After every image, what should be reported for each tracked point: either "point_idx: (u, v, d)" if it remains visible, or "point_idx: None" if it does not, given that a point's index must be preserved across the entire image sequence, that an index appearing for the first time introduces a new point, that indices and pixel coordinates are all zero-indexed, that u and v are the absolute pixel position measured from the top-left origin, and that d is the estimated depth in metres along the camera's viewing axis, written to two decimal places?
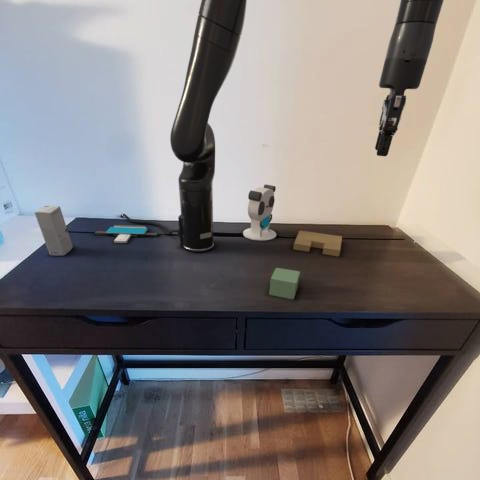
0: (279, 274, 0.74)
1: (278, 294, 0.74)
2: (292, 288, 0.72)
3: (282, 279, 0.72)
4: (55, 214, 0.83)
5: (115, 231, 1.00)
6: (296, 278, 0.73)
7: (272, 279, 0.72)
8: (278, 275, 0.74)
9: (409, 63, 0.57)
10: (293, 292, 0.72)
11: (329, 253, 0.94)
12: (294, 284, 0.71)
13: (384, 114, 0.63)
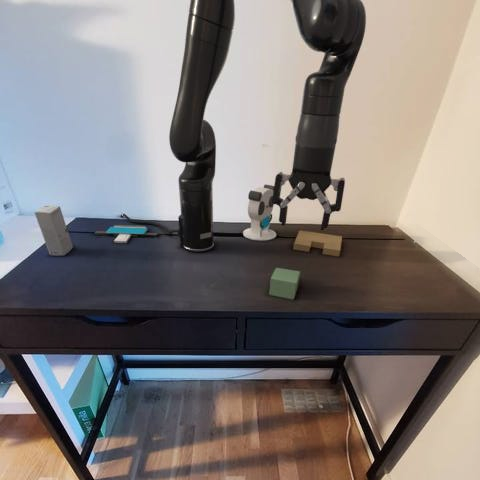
0: (279, 274, 0.74)
1: (278, 294, 0.74)
2: (292, 288, 0.72)
3: (282, 279, 0.72)
4: (55, 214, 0.83)
5: (115, 231, 1.00)
6: (296, 278, 0.73)
7: (272, 279, 0.72)
8: (278, 275, 0.74)
9: None
10: (293, 292, 0.72)
11: (329, 253, 0.94)
12: (294, 284, 0.71)
13: None
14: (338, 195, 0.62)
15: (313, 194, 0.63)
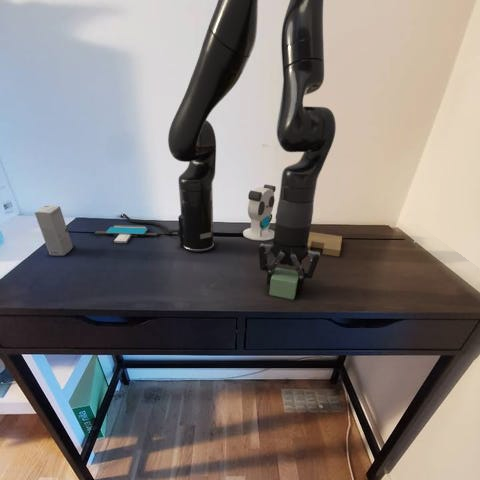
0: (279, 274, 0.74)
1: (278, 294, 0.74)
2: (292, 288, 0.72)
3: (282, 279, 0.72)
4: (55, 214, 0.83)
5: (115, 231, 1.00)
6: (296, 278, 0.73)
7: (272, 279, 0.72)
8: (278, 275, 0.74)
9: (275, 223, 0.67)
10: (293, 292, 0.72)
11: (329, 253, 0.94)
12: (294, 284, 0.71)
13: None
14: (312, 266, 0.69)
15: (292, 261, 0.70)
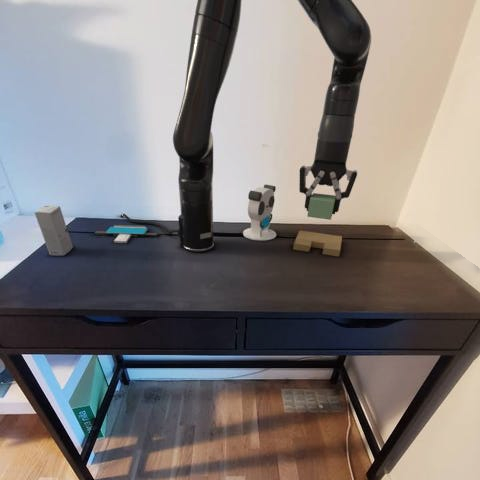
0: (317, 196, 0.80)
1: (316, 215, 0.80)
2: (330, 207, 0.77)
3: (321, 199, 0.78)
4: (55, 214, 0.83)
5: (115, 231, 1.00)
6: (333, 199, 0.78)
7: (311, 199, 0.78)
8: (316, 197, 0.79)
9: None
10: (330, 212, 0.78)
11: (329, 253, 0.94)
12: (332, 203, 0.77)
13: None
14: (349, 184, 0.75)
15: (331, 181, 0.76)
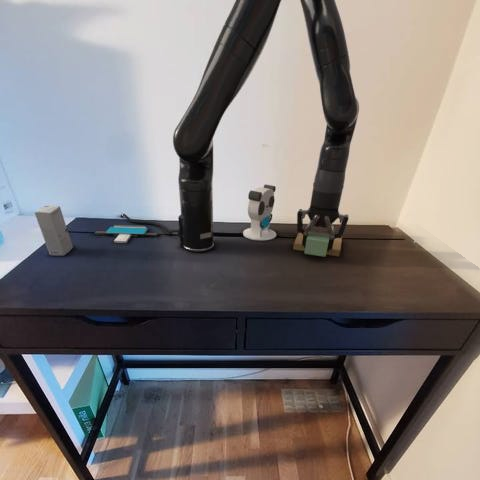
0: (313, 235, 0.89)
1: (312, 252, 0.89)
2: (325, 246, 0.87)
3: (316, 239, 0.87)
4: (55, 214, 0.83)
5: (115, 231, 1.00)
6: (328, 238, 0.87)
7: (308, 239, 0.87)
8: (312, 236, 0.88)
9: (312, 191, 0.82)
10: (325, 250, 0.87)
11: (329, 253, 0.94)
12: (326, 243, 0.86)
13: (311, 220, 0.88)
14: (342, 227, 0.84)
15: (325, 223, 0.85)
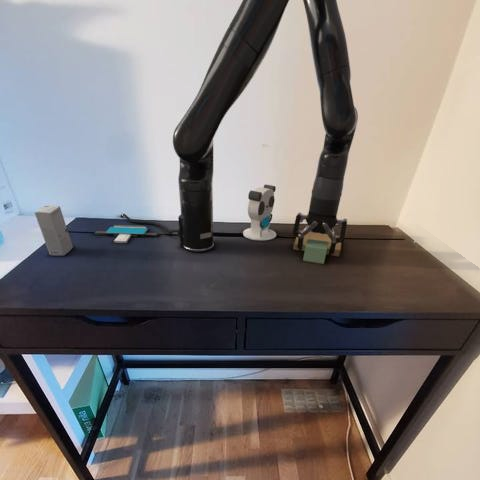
0: (312, 243, 0.90)
1: (311, 259, 0.90)
2: (323, 253, 0.88)
3: (315, 246, 0.88)
4: (55, 214, 0.83)
5: (115, 231, 1.00)
6: (326, 246, 0.89)
7: (306, 247, 0.88)
8: (311, 243, 0.90)
9: (311, 197, 0.83)
10: (323, 257, 0.88)
11: None
12: (325, 250, 0.87)
13: (308, 224, 0.89)
14: (342, 231, 0.84)
15: (323, 230, 0.86)
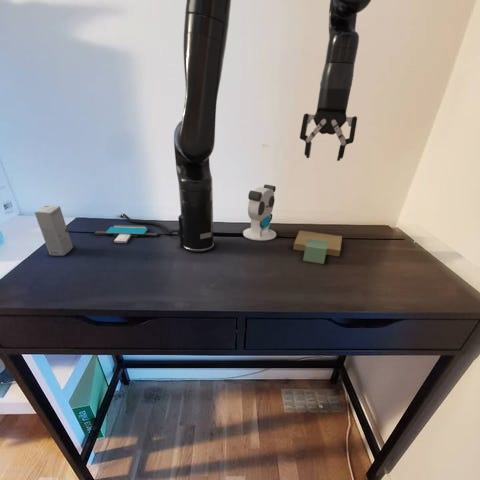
0: (312, 243, 0.90)
1: (311, 259, 0.90)
2: (323, 253, 0.88)
3: (315, 246, 0.88)
4: (55, 214, 0.83)
5: (115, 231, 1.00)
6: (326, 246, 0.89)
7: (306, 247, 0.88)
8: (311, 243, 0.90)
9: None
10: (323, 257, 0.88)
11: (329, 253, 0.94)
12: (325, 250, 0.87)
13: None
14: (351, 129, 0.81)
15: (332, 129, 0.82)
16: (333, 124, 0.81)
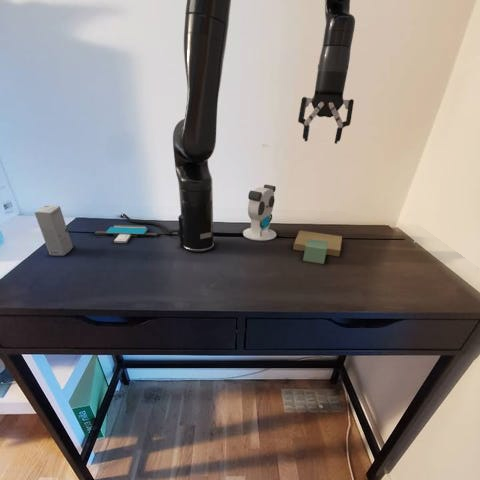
0: (312, 243, 0.90)
1: (311, 259, 0.90)
2: (323, 253, 0.88)
3: (315, 246, 0.88)
4: (55, 214, 0.83)
5: (115, 231, 1.00)
6: (326, 246, 0.89)
7: (306, 247, 0.88)
8: (311, 243, 0.90)
9: (317, 75, 0.81)
10: (323, 257, 0.88)
11: (329, 253, 0.94)
12: (325, 250, 0.87)
13: None
14: (348, 112, 0.83)
15: (329, 112, 0.85)
16: (330, 107, 0.83)
